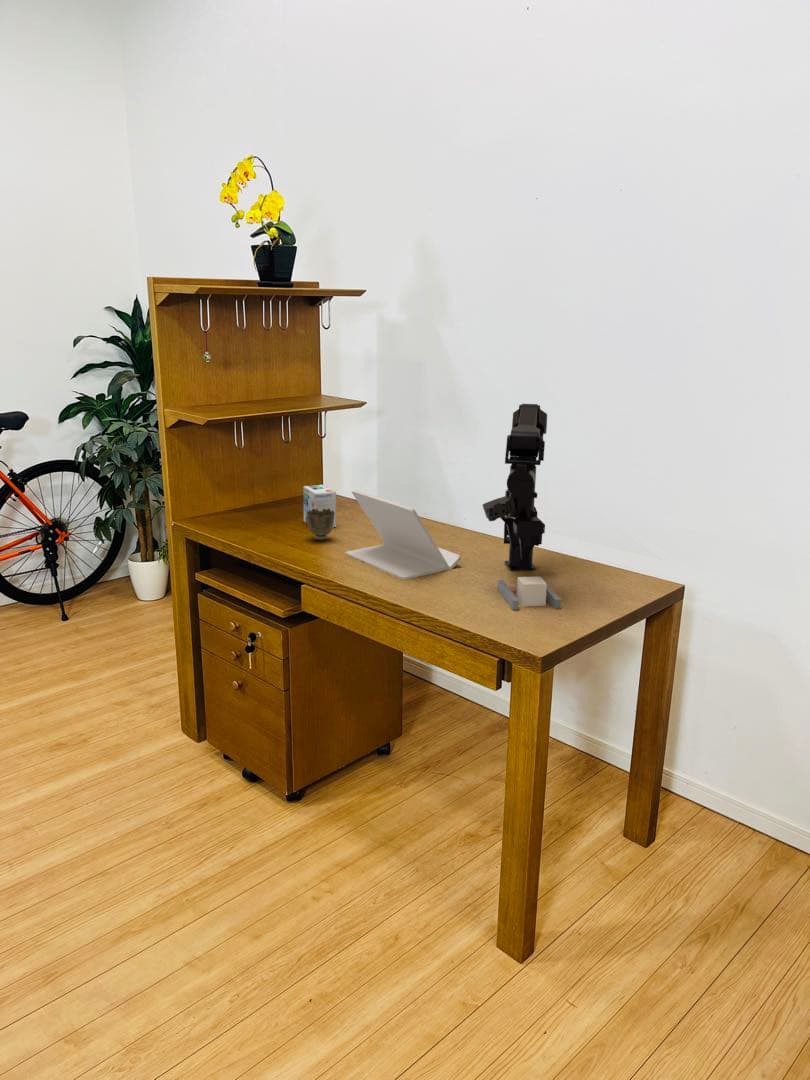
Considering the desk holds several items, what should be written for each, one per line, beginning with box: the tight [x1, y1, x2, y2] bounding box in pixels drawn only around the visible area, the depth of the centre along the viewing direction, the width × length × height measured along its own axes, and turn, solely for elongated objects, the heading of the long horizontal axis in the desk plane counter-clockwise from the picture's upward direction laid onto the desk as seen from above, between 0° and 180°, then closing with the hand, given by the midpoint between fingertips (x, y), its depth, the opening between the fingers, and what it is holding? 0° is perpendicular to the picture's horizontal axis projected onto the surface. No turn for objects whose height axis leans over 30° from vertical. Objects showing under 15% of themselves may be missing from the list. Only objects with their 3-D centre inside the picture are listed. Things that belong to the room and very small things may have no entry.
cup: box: [307, 509, 335, 542], centre depth 221 cm, size 8×7×8 cm
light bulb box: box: [302, 484, 337, 528], centre depth 236 cm, size 11×7×11 cm, turn 25°
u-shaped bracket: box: [497, 579, 562, 611], centre depth 179 cm, size 14×10×2 cm
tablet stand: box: [345, 489, 462, 580], centre depth 203 cm, size 18×25×17 cm
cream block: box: [516, 576, 548, 607], centre depth 176 cm, size 5×5×5 cm
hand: (518, 553), depth 187 cm, fingers open, 9 cm apart
